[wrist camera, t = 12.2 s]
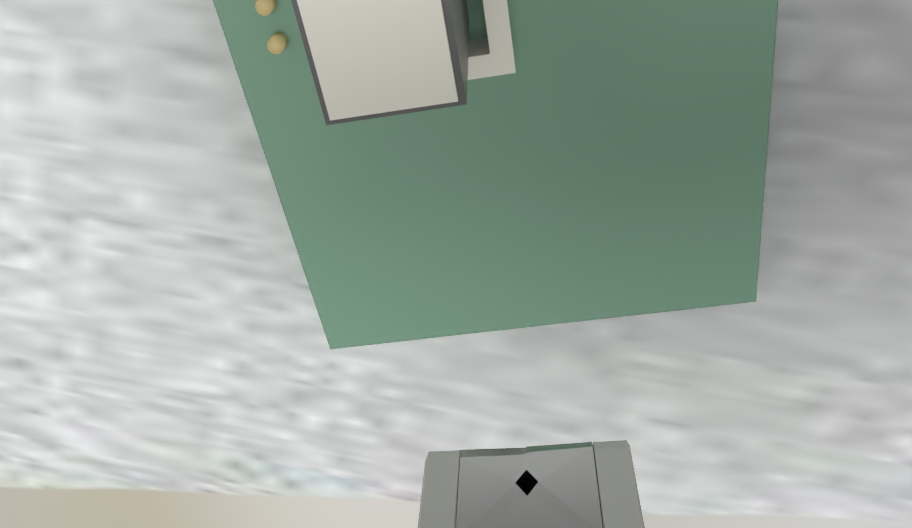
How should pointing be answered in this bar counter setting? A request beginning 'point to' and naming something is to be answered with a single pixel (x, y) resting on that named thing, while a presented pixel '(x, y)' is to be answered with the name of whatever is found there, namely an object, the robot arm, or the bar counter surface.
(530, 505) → the robot arm
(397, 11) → the plug
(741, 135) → the board
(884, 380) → the bar counter surface
